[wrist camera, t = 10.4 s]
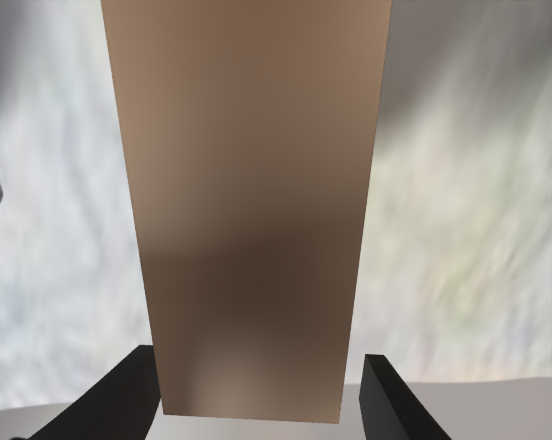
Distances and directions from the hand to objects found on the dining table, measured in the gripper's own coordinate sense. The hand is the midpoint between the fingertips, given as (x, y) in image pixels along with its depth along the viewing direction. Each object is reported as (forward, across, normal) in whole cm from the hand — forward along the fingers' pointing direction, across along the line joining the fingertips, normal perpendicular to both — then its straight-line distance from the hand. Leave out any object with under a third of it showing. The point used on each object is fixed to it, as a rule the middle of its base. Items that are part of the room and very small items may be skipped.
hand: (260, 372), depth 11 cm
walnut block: (+3, 0, -6) cm, 7 cm away
